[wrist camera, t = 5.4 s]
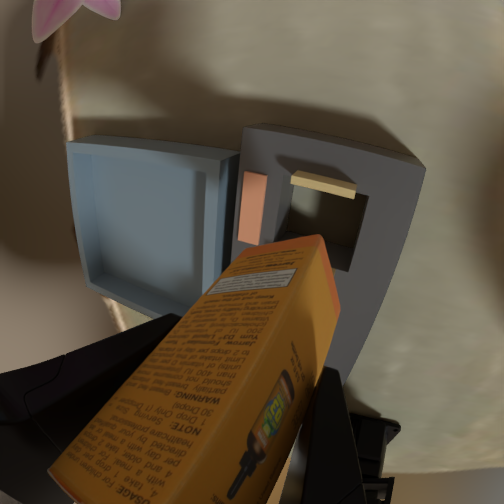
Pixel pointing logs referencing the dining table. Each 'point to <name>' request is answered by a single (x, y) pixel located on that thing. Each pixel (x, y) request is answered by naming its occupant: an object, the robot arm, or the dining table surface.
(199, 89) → the dining table surface
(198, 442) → the supplement box
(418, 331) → the dining table surface
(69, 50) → the dining table surface
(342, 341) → the block
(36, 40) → the lily
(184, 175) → the tray
